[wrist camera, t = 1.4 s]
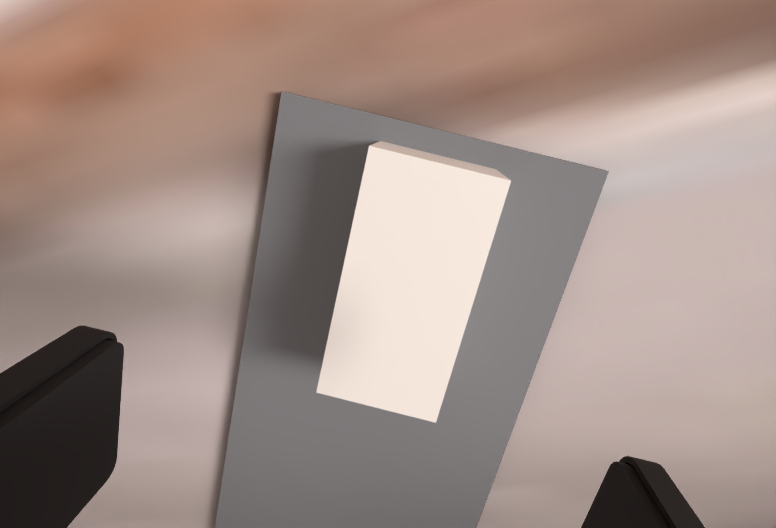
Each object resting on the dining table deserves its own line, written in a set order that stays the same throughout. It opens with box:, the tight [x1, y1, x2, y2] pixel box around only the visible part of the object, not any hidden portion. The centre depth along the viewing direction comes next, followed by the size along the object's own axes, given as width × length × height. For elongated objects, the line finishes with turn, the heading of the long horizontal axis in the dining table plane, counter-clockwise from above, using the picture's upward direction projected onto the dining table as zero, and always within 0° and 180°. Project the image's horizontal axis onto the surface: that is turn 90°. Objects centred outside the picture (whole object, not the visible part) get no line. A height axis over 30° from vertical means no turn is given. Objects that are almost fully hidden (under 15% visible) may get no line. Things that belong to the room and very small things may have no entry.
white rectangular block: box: [316, 141, 511, 423], centre depth 20 cm, size 5×10×4 cm, turn 167°
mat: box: [215, 91, 609, 528], centre depth 24 cm, size 14×26×1 cm, turn 167°
